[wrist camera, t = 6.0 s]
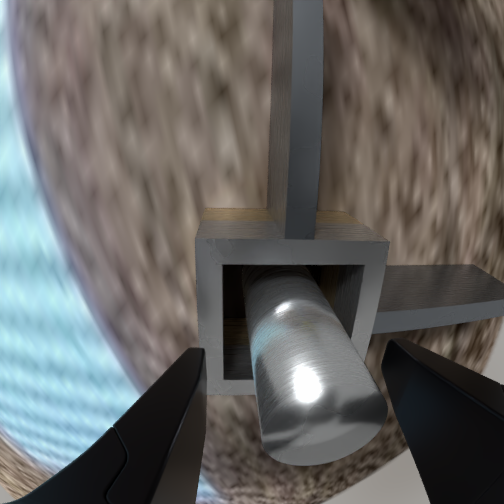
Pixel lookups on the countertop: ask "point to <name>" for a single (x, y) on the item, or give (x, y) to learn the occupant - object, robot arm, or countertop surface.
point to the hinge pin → (306, 370)
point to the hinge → (317, 231)
